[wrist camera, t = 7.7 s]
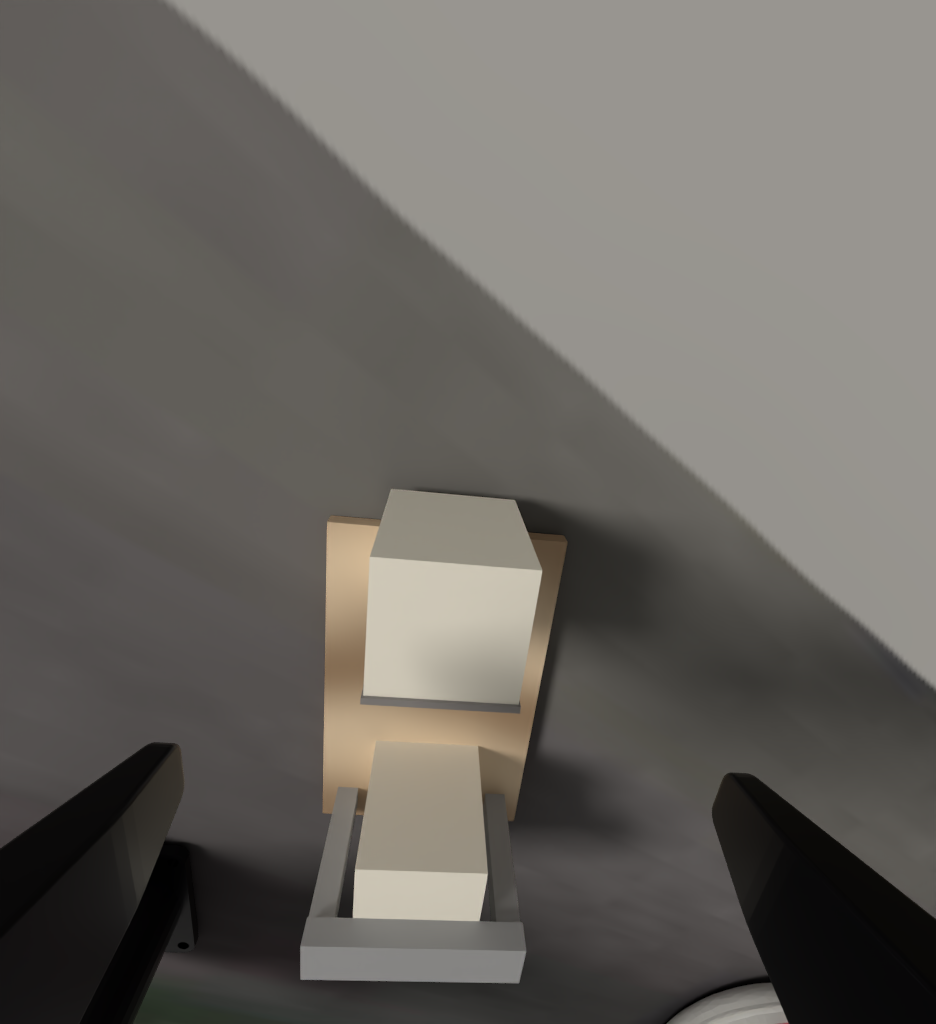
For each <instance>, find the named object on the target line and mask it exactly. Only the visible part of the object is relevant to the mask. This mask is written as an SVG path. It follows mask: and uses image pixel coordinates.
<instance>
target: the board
mask: <svg viewBox="0 0 936 1024" xmlns="http://www.w3.org/2000/svg"><path fill="white" fill-rule="evenodd" d="M380 523H381V520H378V519H367V518H355V517H343V516H332V515H331V516H330V518H329V520H328V522H327V569H326V633H325V697H324V761H323V813H328V814H332V812H333V807H334V803H335V799H336V794H337V790H338V787H353V788H358V803H357V811H356V815H364V811H365V805H366V799H367V793H368V787H369V781H370V774H371V768H372V762H373V756H374V750H375V744H376V741H395V742H414V743H434V744H453V745H472V746H478V753H479V765H480V778H481V791H482V804H483V805H484V799H485V793H486V794H505V802H506V810H507V818H508V821H514V817H515V812H516V807H517V802H518V796H519V791H520V786H521V781H522V776H523V771H524V765H525V760H526V755H527V750H528V745H529V740H530V734H531V729H532V724H533V719H534V714H535V708H536V703H537V698H538V693H539V688H540V683H541V677H542V672H543V667H544V662H545V657H546V652H547V646H548V641H549V636H550V631H551V626H552V621H553V615H554V610H555V605H556V600H557V595H558V590H559V584H560V579H561V574H562V569H563V564H564V559H565V553H566V548H567V543H568V542H567V540H566V539H565V537H564V535H553V534H542V533H530V532H528V535H529V537H530V540H531V542H532V545H533V547H534V550H535V553H536V555H537V558H538V560H539V563H540V565H541V568H542V576H541V582H540V587H539V593H538V599H537V604H536V610H535V615H534V621H533V627H532V632H531V638H530V643H529V649H528V655H527V660H526V666H525V671H524V677H523V683H522V688H521V694H520V699H519V700H520V705H521V710H520V714H517V713H499V712H482V711H465V710H447V709H430V708H413V707H395V706H378V705H361V704H360V698H361V694H362V689H363V685H364V666H365V645H366V624H367V603H368V582H369V561H370V554H371V551H372V548H373V545H374V542H375V538H376V535H377V532H378V529H379V526H380Z"/></svg>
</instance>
